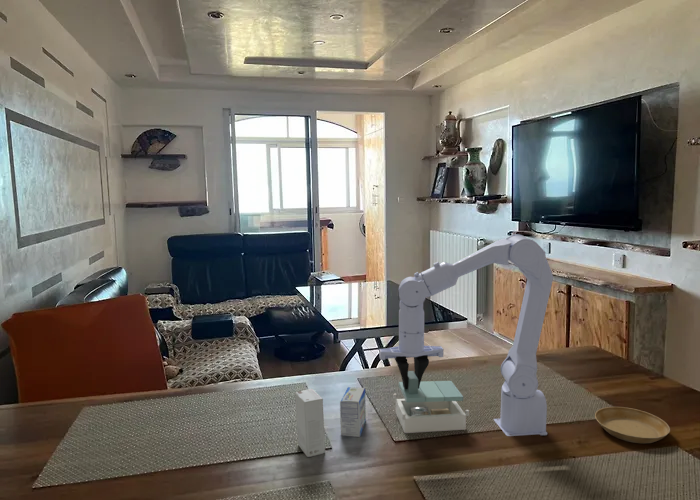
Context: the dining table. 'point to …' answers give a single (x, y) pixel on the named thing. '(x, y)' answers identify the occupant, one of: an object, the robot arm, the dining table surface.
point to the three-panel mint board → (429, 390)
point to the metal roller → (418, 411)
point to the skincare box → (310, 422)
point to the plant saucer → (632, 424)
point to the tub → (430, 416)
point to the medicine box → (353, 412)
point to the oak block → (440, 411)
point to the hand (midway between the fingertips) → (411, 387)
